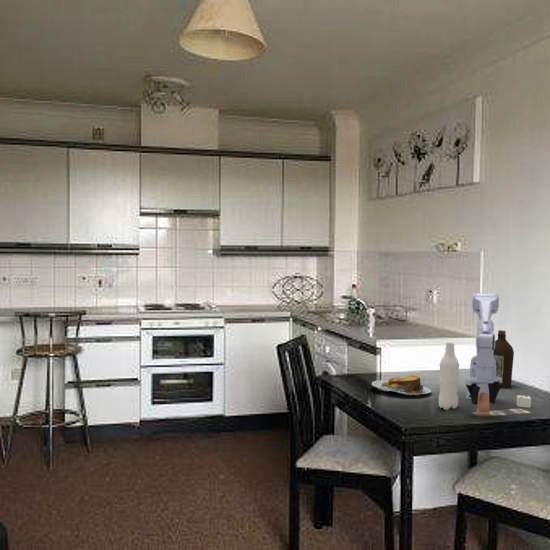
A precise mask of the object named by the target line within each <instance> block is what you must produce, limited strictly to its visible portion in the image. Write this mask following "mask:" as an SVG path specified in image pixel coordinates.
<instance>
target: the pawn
mask: <svg viewBox="0 0 550 550" xmlns="http://www.w3.org/2000/svg"><path fill="white" fill-rule="evenodd" d="M490 411H491V410H490V402H489V396H488V394H487V393H485V392H482V393H480V394H479V397H478V404H477V408H476V412H477V414H478V415H477V414H476V415H477V416H479V415H482V416H487V417H490V416H489V415H490ZM482 416H481V417H482Z"/></svg>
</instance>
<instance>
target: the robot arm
mask: <svg viewBox="0 0 550 550" xmlns="http://www.w3.org/2000/svg"><path fill="white" fill-rule="evenodd" d="M499 301H500V294H498V292H497V293H485V292H473V293H472V301H471V302H472V305H471V306H472V312H473V313H474V314H477V316H478V322H477V333H476V335H475V349H476V355H474V356H472V357H471V358H470V363H469V365H470V366H469V367H470V369H469V376H470V377H468V378H465V386H466V396H465V397H466V399H469V400H471V404H472V405H475V406H478V397H479V394H480V393H482V392H485V393H487V394H488V396H489V403H491V404H495V403H496V400H497V398H498V394H499V392H500V391H501V389H503V388H502V384H499V383H502V378H501V377H496V361H495V359H494V358H493V353H494V350H493V349H492V346H493V347H494V349H495V341H496V335H495V329H494V328H495V325H494V321H493V320H491V319H492V318H491V317H492V315H494V314H497V313H498V309H499V305H500V304H499V303H500V302H499Z"/></svg>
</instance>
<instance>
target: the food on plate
mask: <svg viewBox="0 0 550 550" xmlns="http://www.w3.org/2000/svg"><path fill="white" fill-rule="evenodd" d="M371 386H372V387H374V388H377V390H379V391H384V392H387V393H389V391H390V392H395V393H398V394H401V395H403V396H420V394H421V395H425V394H426V395H427V394H431V393H432V389H430V388H428V387H426V386H423V385H422V383H421V377H420V376H417V375H409V376H406V377H401V378H400V377H392V378H389V380H385V379H384V380H383V379H381V380H375V381H372V382H371ZM420 391H425V393H422V392H420ZM419 392H420V393H419ZM418 393H419V394H418Z"/></svg>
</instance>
